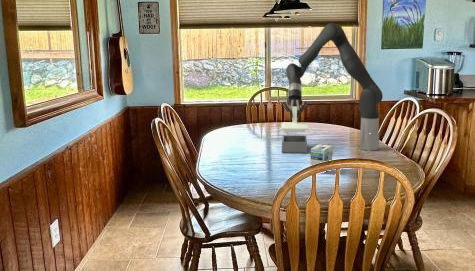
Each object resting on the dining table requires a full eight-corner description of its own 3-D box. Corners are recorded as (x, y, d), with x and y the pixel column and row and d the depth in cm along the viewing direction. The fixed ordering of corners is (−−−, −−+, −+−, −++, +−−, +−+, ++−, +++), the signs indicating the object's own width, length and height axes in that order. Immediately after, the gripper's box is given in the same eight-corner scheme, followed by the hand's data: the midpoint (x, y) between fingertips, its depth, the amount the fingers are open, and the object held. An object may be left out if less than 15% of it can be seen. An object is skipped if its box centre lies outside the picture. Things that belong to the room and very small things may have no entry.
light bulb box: (324, 174, 190) (324, 150, 188) (309, 171, 194) (310, 148, 191) (332, 168, 199) (333, 145, 197) (318, 166, 202) (319, 143, 200)
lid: (308, 132, 223) (308, 111, 221) (280, 132, 225) (281, 111, 223) (307, 125, 242) (307, 106, 240) (282, 125, 244) (282, 106, 242)
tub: (306, 153, 226) (306, 142, 225) (281, 153, 228) (281, 142, 227) (305, 146, 244) (306, 135, 243) (282, 145, 245) (282, 135, 244)
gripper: (282, 88, 245) (281, 113, 235) (307, 88, 243) (307, 113, 234) (282, 96, 251) (282, 121, 242) (307, 96, 249) (307, 121, 240)
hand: (294, 117), depth 238 cm, fingers closed on lid, 2 cm apart
